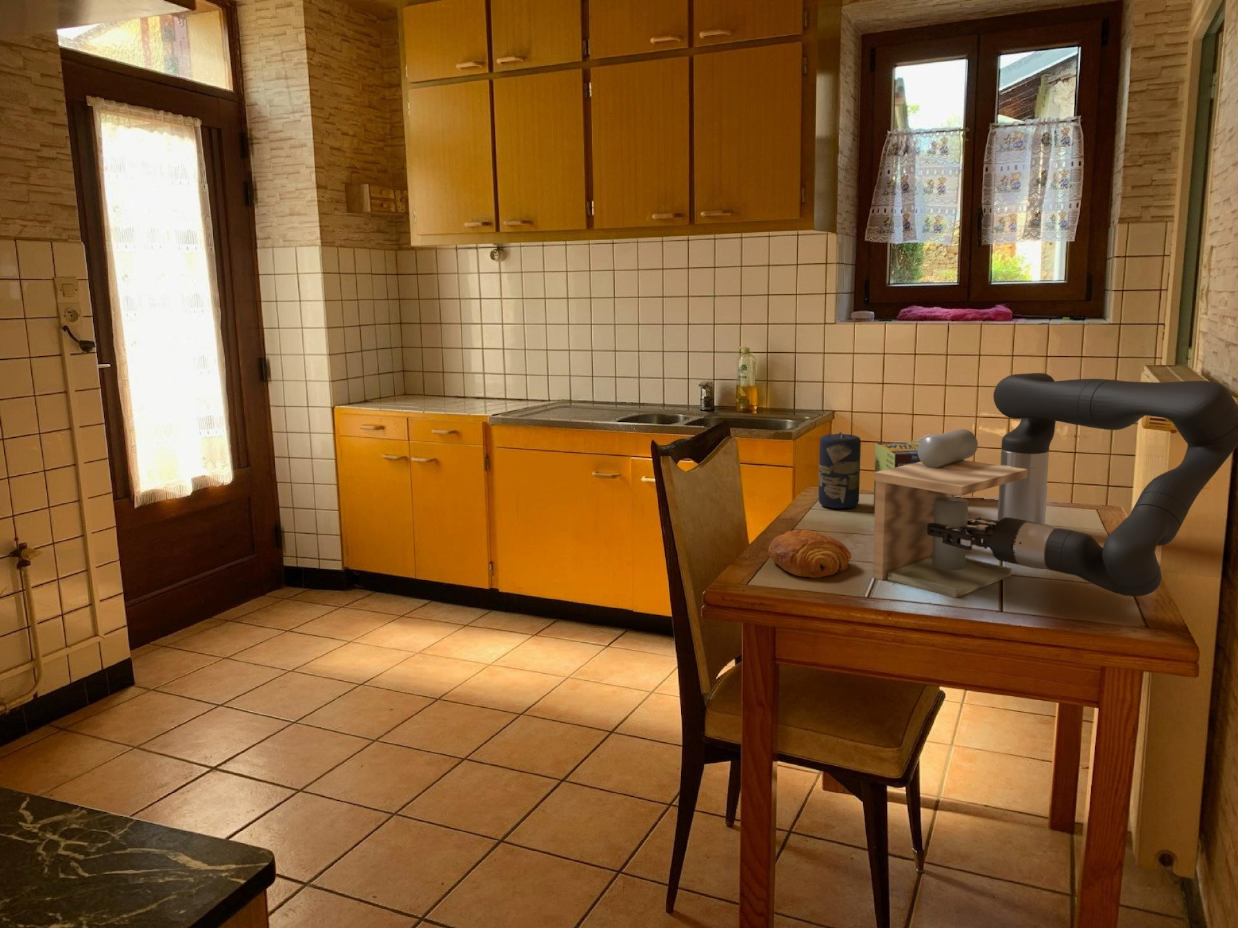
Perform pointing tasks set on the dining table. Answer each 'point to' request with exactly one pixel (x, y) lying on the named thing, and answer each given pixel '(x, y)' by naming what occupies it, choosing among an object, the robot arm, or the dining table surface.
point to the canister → (839, 470)
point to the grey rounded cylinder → (946, 555)
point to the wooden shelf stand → (911, 508)
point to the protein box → (894, 456)
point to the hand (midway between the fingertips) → (938, 525)
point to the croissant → (809, 553)
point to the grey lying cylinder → (947, 448)
